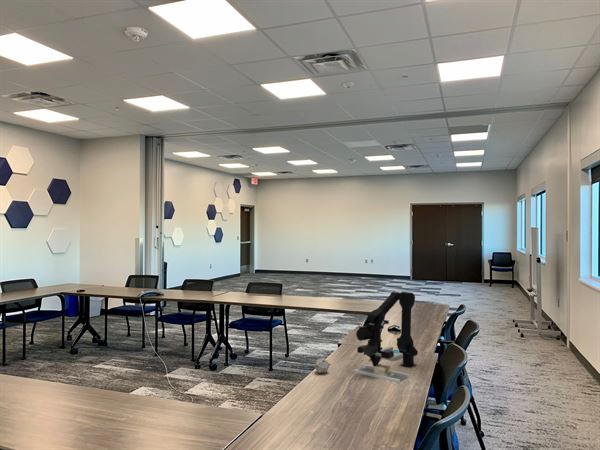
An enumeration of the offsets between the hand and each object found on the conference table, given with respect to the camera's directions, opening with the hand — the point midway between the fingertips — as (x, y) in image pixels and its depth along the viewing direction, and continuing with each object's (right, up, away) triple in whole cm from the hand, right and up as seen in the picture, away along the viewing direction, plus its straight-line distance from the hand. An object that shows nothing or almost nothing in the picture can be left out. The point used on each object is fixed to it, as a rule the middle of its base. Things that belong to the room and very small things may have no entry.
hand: (375, 368), depth 221 cm
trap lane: (+3, -3, -2) cm, 4 cm away
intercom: (+11, -4, +27) cm, 30 cm away
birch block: (+3, -2, -3) cm, 5 cm away
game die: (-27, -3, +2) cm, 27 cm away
